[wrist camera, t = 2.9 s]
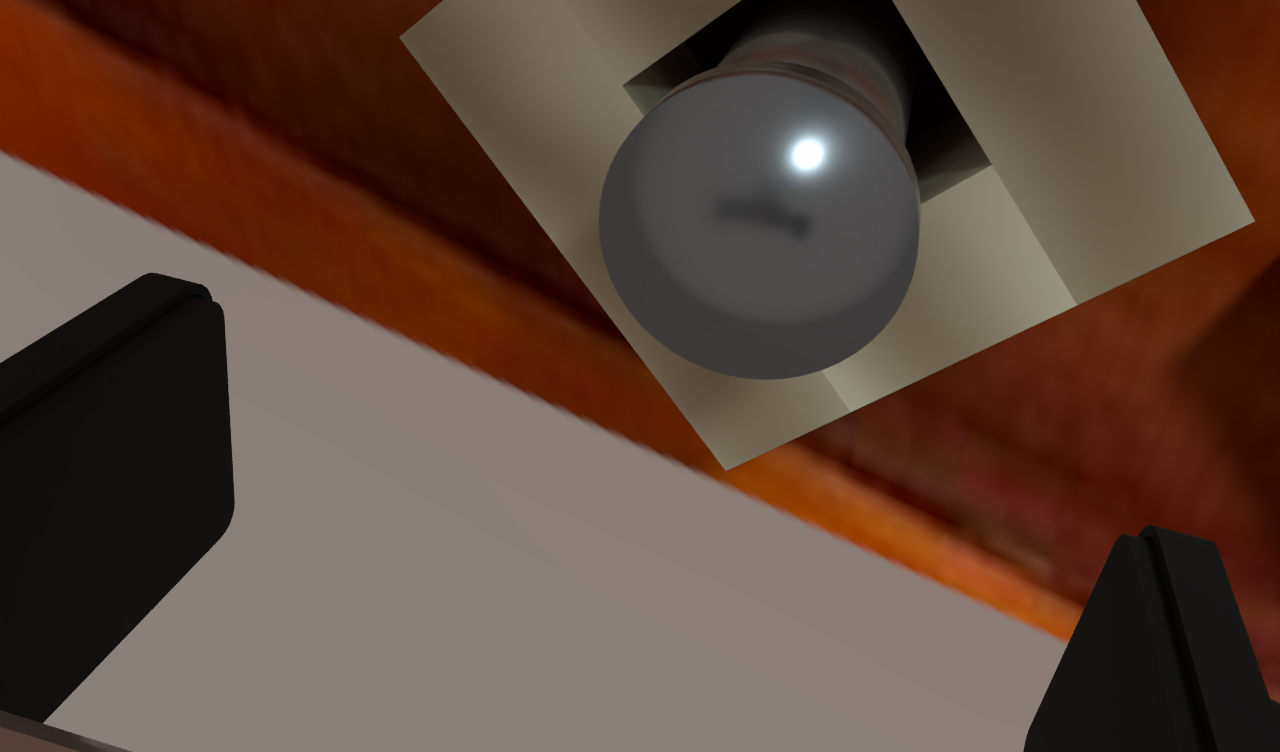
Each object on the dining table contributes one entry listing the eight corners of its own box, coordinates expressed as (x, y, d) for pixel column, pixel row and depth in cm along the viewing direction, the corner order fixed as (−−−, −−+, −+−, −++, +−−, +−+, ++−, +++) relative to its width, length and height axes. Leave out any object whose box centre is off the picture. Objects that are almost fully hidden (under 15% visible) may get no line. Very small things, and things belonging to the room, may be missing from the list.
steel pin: (864, -93, 24) (800, 7, 15) (975, 92, 25) (981, 292, 16) (688, 33, 26) (537, 189, 17) (798, 197, 27) (714, 425, 18)
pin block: (928, -374, 21) (918, -403, 17) (1205, 140, 24) (1255, 220, 20) (487, -8, 27) (398, 37, 23) (759, 369, 30) (725, 471, 26)
